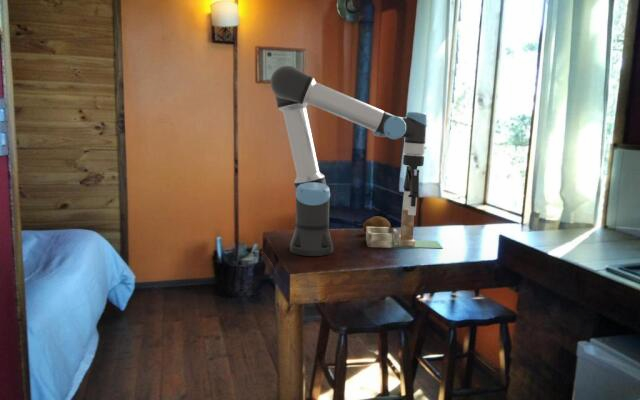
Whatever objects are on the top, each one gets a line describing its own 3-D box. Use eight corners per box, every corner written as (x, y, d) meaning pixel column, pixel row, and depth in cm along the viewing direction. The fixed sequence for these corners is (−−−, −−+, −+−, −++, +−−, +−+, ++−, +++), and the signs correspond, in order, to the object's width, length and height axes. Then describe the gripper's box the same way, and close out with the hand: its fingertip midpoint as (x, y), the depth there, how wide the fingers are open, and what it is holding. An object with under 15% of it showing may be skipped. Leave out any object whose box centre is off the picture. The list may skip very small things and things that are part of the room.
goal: (367, 246, 189) (368, 233, 189) (365, 239, 201) (366, 226, 200) (391, 247, 189) (392, 234, 188) (387, 239, 201) (388, 227, 200)
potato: (358, 234, 209) (358, 215, 208) (382, 231, 216) (383, 213, 214) (370, 238, 202) (371, 219, 201) (394, 235, 209) (395, 216, 208)
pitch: (372, 246, 190) (372, 245, 190) (369, 239, 201) (369, 238, 201) (442, 248, 190) (442, 247, 190) (437, 241, 200) (437, 240, 200)
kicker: (411, 239, 200) (412, 207, 198) (415, 246, 190) (417, 212, 188) (392, 239, 200) (394, 206, 198) (395, 245, 190) (397, 211, 188)
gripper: (430, 158, 177) (424, 218, 181) (418, 152, 202) (413, 206, 205) (408, 156, 177) (403, 217, 181) (399, 151, 202) (394, 205, 205)
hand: (408, 211), depth 193 cm, fingers open, 13 cm apart
